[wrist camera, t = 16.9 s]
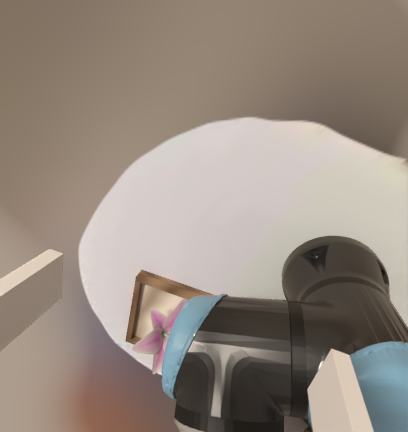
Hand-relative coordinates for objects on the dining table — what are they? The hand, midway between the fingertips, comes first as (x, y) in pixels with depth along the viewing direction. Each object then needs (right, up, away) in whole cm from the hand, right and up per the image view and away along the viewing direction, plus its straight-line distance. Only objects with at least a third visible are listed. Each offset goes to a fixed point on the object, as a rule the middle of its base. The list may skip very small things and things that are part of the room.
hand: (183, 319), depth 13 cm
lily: (-4, -15, +40) cm, 43 cm away
